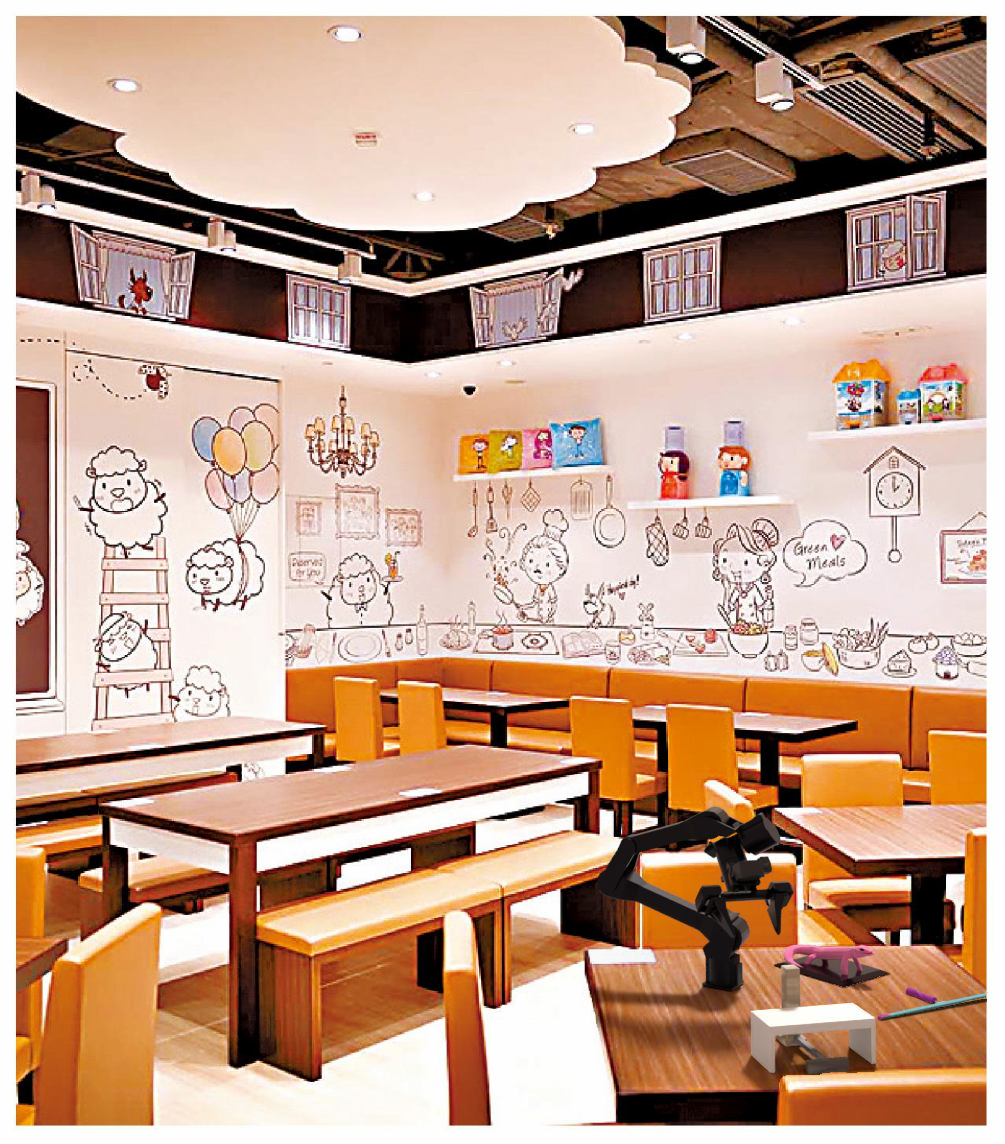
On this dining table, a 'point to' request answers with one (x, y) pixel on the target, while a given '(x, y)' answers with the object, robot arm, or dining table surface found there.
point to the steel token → (832, 1070)
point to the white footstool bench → (811, 1028)
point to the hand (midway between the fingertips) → (756, 935)
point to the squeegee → (929, 999)
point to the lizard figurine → (832, 963)
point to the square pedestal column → (813, 1066)
